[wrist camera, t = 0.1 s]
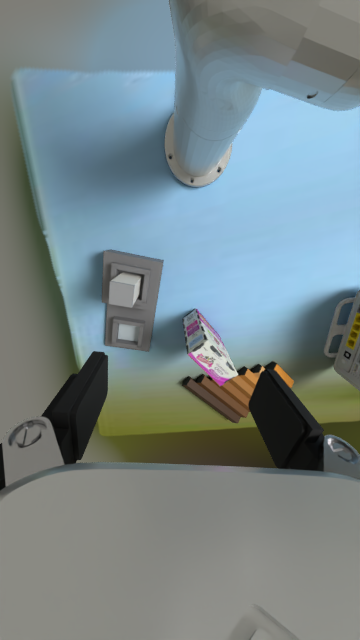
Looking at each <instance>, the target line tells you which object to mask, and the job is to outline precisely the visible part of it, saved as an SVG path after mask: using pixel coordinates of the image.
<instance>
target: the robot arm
mask: <svg viewBox="0 0 360 640" xmlns="http://www.w3.org/2000/svg"><path fill="white" fill-rule="evenodd" d="M169 5H170V11H171V17H172V23H173V29H174V36H175V49H176V50H175V51H176V68H175V101H174V113H173V114H172V116H171V118H170V120H169V122H168V125H167V128H166V133H165V154H166V159H167V162H168V165H169V167H170V169H171V171H172V173H173V174H174V175H175V177H176V178H177V179H178V180H180V181H181V182H182V183H184V184H186V185H188V186H191V187H204V186H206V185H209V184H211V183H212V182H214V181H215V180H216V179H217V178H218V177H219V176H220V175H221V174H222V173H223V171H224V169H225V168H226V166H227V164H228V161H229V159H230V155H231V151H232V142H233V141H234V139H235V138H236V136H237V135H238V133H239V132H240V130H241V129H242V127H243V126H244V124H245V123H246V121H247V119H248V118H249V116H250V115H251V113H252V111H253V109H254V107H255V105H256V103H257V101H258V99H259V96H260V93H261V90H262V88H263V89H266V90H269V89H271V90H274V91H276V92H279V93H282V94H285V95H287V96H290V97H293V98H296V99H299V100H301V101H304V102H307V103H310V104H313V105H315V106H318V107H321V108H325V109H329V110H333V111H346V110H350V109H354V108H356V107H359V106H360V0H169ZM169 157H172V159H169ZM217 170H219V173H218V172H217ZM191 180H192V181H193V183H191V182H190V181H191ZM107 391H108V356H107V355H105V353H104V352H96V351H94V352H92V354H91V355H90V357H89V358H88V360H87V361H86V363H85V364H84V366H83V367H82V369H81V370H80V372H79V373H78V374H72V375H71V376H70V377H69V379H68V380H67V381H66V383H65V384H64V385H63V387H62V388H61V389H60V391H59V392H58V394H57V395H56V396H55V398H54V399H53V400H52V402H51V403H50V405H49V406H48V407H47V409H46V410H45V412H44V413H43V414H42V416H36V417H31V418H27V419H25V420H23V421H21V422H19V423H17V424H16V425H15V426H13V427H12V428H11V429H10V430H9V431H8V432H7V433H6V435H5V437H4V438H3V443H1V444H0V640H360V455H359V454H358V452H357V451H356V450H355V449H354V448H353V447H352V446H351V445H349V444H348V443H347V442H346V441H344V440H342V439H341V438H338V437H336V436H333V435H326V436H325V437H324V436H323V434H322V432H323V431H324V430H323V428H322V427H321V426H320V425H319V423H318V422H317V421H316V420H315V418H314V417H313V416H312V415H311V413H310V412H309V411H308V410H307V408H306V407H305V406H304V405H303V404H302V402H301V401H300V400H299V399H298V397H297V396H296V395H295V394H294V392H293V391H292V390H291V389H290V387H289V386H288V385H287V384H286V382H285V381H284V380H283V379H282V377H281V376H280V375H279V374H278V373H277V371H276V370H270V369H265V370H264V371H262V372H261V374H260V376H259V379H258V381H257V383H256V386H255V388H254V391H253V393H252V396H251V398H250V400H249V403H248V406H249V410H250V412H251V414H252V416H253V418H254V420H255V423H256V425H257V427H258V429H259V431H260V433H261V435H262V437H263V440H264V442H265V444H266V446H267V448H268V450H269V452H270V455H271V457H272V459H273V461H274V463H275V465H276V466H277V468H279V469H276V468H254V467H232V466H207V465H181V464H153V463H112V462H110V463H109V462H94V463H93V462H92V463H76V461H77V460H81V458H82V456H83V454H84V451H85V449H86V447H87V444H88V442H89V439H90V436H91V434H92V431H93V429H94V426H95V424H96V422H97V419H98V417H99V414H100V412H101V409H102V407H103V404H104V402H105V399H106V396H107Z"/></svg>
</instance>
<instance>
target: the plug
mask: <svg viewBox="0 0 360 640" xmlns="http://www.w3.org/2000/svg"><path fill="white" fill-rule="evenodd" d="M141 277H142V276H139V275H134V274H129V273H124V272H122V273H121V274H120V275H118V276H117V277H115V278H114V279H113V280H111V281H110V290H109V304H112V305H118V306H124V307H130V308H132V307H133V305H134V303H135V301H136V299H137V298H138V296H139V294H140V286H141Z"/></svg>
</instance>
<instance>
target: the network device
mask: <svg viewBox="0 0 360 640" xmlns="http://www.w3.org/2000/svg"><path fill="white" fill-rule="evenodd" d="M346 303H354V304H353V307H352V310H351V313H350V316H349V319H348V322H347V324H341V325H337V320H338V317H339V314H340V310H341V307H342V306H343V305H344V304H346ZM335 335H343V338H342V341H341V344H340V347H339V350H338V352H336V353H328V351H329V347H330V344H331V341H332V338H333V337H334V336H335ZM324 354H325V355H326V356H328V357H336V359H335V363H334V370H335V371H336V372H337V373H338V374H339V375H341V376H342V377H343V378H344V379H346V380H347V381H348V382H349V383H350V384H352V385H353V386H354V387H355V388H357V389H358V390H359V391H360V290H359V291H358V292H357V294H356V297H353V298H346V299H344V300H342V301H341V302H339V304H338V305H337V306H336V309H335V312H334V316H333V319H332V323H331V326H330V330H329V333H328V337H327V340H326V344H325V347H324Z"/></svg>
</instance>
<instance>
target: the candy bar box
mask: <svg viewBox="0 0 360 640" xmlns="http://www.w3.org/2000/svg"><path fill="white" fill-rule="evenodd" d="M183 325H184V332H185V339H186V347H187V354H188V355H189V356H190V357H191V358H192V359H193V360H194V361H195V362H196V363H197V364H198V365H199V366H200V367H201V368H202V369H203V370H204V371H205V372H206V373H207V374H208V375H209V376H210V377H211V378H212V379H213V380H214V381H215V382H216V383H217V384H218V385H219V386H221V385H223V384H225V383H226V382H228V381H229V380H231V379H232V378H234V377H236V376H237V375H238V373H237V371H236V369H235V367H234V365H233V363H232V361H231V359H230V357H229V354H228V352H227V350H226V348H225V346H224V344H223V342H222V340H221V338H220V336H219V335H218V333H217V332H216V331H215V330H214V329H213V328H212V326H211V325H210V324H209V323H208V322H207V321H206V320H205V318H204V317H203V316H202V315H201V314H200V313H199V311H198V310H197V309H195V310H193V311H192V312H191V313H190V314H188V315H187V316H185V317H184V318H183Z"/></svg>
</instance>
